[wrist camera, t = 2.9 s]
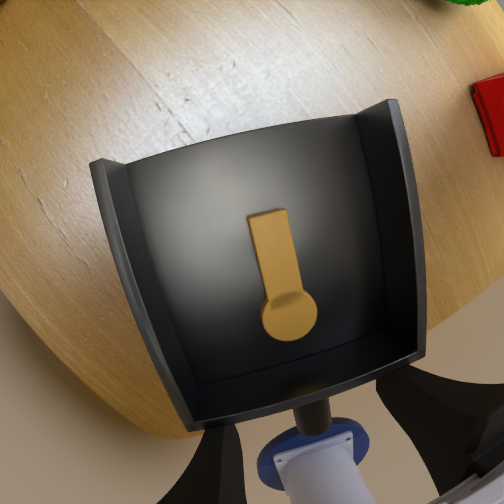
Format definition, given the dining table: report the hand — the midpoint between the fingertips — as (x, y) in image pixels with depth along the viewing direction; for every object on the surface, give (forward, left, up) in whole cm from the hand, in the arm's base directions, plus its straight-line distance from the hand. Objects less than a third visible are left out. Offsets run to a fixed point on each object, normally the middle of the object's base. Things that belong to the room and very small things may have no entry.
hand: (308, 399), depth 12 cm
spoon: (+6, 0, -1) cm, 6 cm away
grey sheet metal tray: (+5, 0, -1) cm, 5 cm away
